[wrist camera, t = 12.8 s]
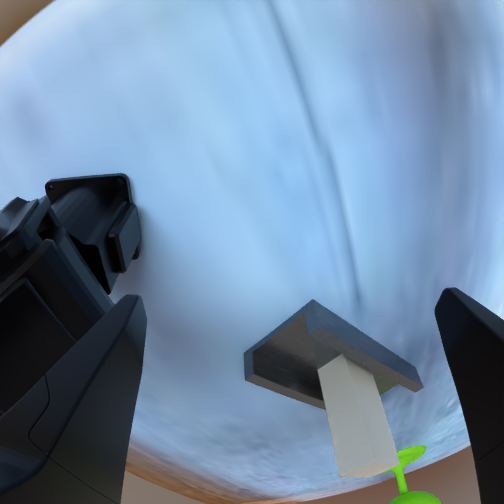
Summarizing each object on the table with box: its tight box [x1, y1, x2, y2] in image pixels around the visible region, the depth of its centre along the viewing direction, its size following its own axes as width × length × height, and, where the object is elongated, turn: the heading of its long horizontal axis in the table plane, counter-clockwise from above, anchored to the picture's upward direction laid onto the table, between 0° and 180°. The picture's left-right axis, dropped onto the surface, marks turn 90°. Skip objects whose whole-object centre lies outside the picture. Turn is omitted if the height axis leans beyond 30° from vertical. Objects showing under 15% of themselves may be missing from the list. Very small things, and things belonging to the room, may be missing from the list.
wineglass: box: [382, 446, 442, 504], centre depth 52 cm, size 16×16×18 cm
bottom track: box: [244, 300, 423, 410], centre depth 31 cm, size 20×9×3 cm, turn 49°
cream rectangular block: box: [318, 354, 400, 478], centre depth 26 cm, size 5×4×12 cm
